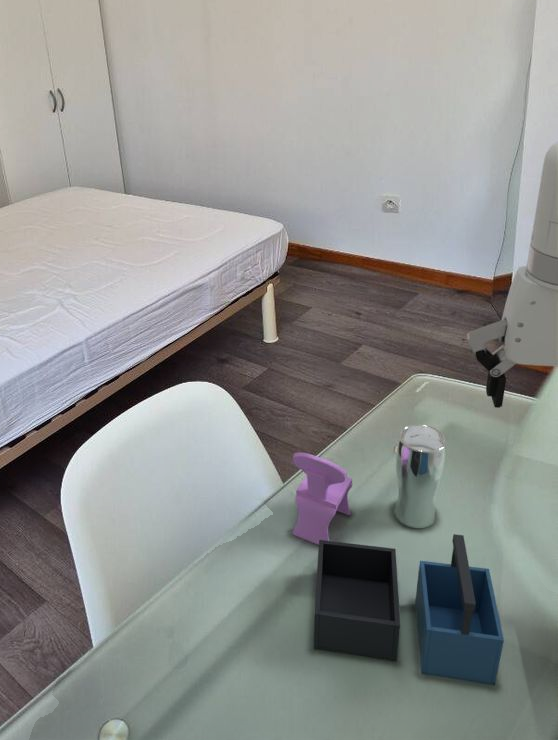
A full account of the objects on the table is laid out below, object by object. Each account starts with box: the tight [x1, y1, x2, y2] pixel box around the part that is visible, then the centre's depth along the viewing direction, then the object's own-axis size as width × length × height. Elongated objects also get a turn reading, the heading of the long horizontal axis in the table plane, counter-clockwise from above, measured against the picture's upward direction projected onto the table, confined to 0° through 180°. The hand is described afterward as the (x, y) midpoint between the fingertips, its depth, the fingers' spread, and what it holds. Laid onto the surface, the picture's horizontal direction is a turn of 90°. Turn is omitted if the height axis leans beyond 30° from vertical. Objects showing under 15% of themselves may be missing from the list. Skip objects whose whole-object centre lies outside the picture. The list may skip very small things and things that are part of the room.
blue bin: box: [414, 533, 505, 686], centre depth 85 cm, size 8×10×13 cm
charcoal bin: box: [313, 540, 401, 663], centre depth 91 cm, size 10×12×7 cm
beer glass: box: [393, 423, 447, 529], centre depth 104 cm, size 7×7×15 cm
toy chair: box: [291, 451, 353, 546], centre depth 104 cm, size 8×9×15 cm
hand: (542, 403), depth 77 cm, fingers open, 9 cm apart
